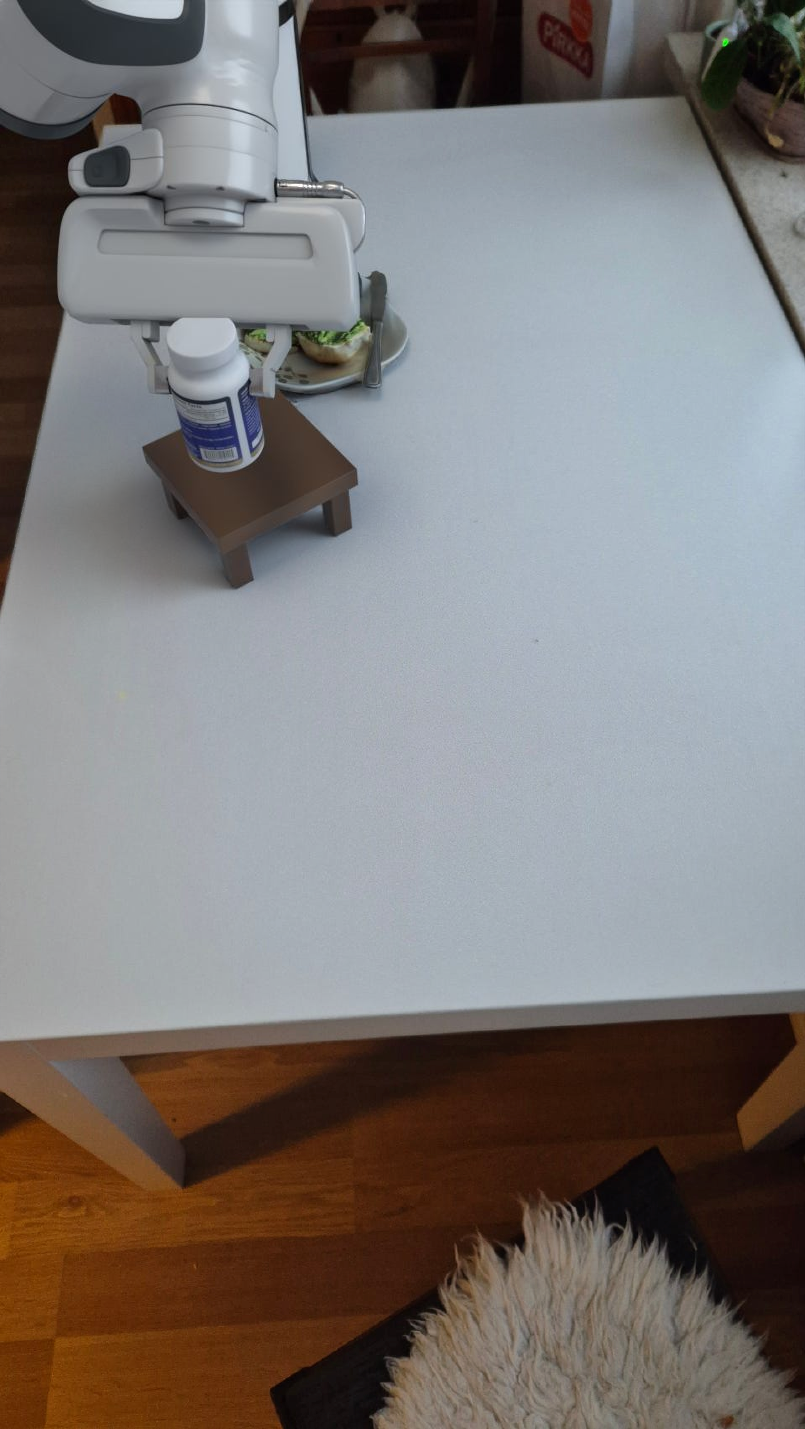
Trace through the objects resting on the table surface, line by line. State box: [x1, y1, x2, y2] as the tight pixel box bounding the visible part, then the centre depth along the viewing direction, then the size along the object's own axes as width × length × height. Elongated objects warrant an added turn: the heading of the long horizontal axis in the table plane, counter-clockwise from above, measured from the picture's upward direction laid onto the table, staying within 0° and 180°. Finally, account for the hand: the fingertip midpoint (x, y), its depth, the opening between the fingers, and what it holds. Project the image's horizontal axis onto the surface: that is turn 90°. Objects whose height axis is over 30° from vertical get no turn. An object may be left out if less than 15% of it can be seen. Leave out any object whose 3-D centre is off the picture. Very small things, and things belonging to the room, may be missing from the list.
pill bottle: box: [165, 318, 264, 472], centre depth 70 cm, size 6×6×10 cm
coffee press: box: [135, 0, 320, 182], centre depth 104 cm, size 17×16×30 cm
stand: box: [141, 387, 359, 590], centre depth 86 cm, size 13×13×7 cm
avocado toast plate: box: [236, 270, 409, 395], centre depth 100 cm, size 19×18×5 cm
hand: (211, 395), depth 70 cm, fingers closed on pill bottle, 6 cm apart
